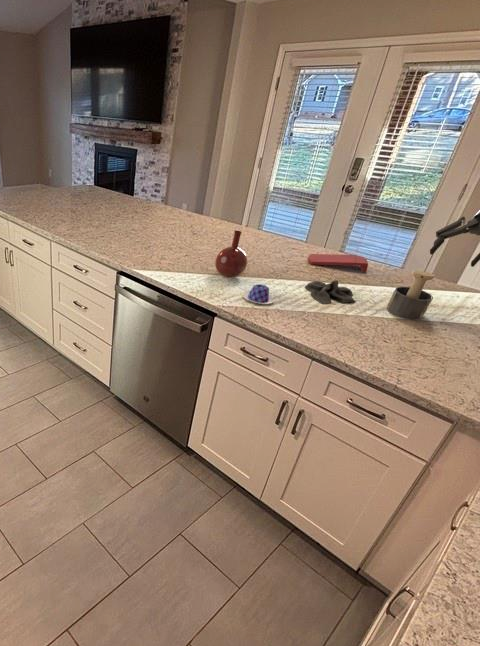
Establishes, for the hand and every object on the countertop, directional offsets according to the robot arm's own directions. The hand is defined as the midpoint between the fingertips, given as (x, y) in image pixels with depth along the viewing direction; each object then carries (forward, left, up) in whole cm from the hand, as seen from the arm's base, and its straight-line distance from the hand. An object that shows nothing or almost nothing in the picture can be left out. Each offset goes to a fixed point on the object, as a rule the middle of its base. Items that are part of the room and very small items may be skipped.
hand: (450, 258), depth 151 cm
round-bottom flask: (+65, +39, -21) cm, 79 cm away
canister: (+4, +10, -21) cm, 23 cm away
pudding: (+44, +48, -21) cm, 68 cm away
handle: (+4, +10, -20) cm, 23 cm away
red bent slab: (+44, -19, -21) cm, 52 cm away
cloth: (+29, +19, -21) cm, 40 cm away
